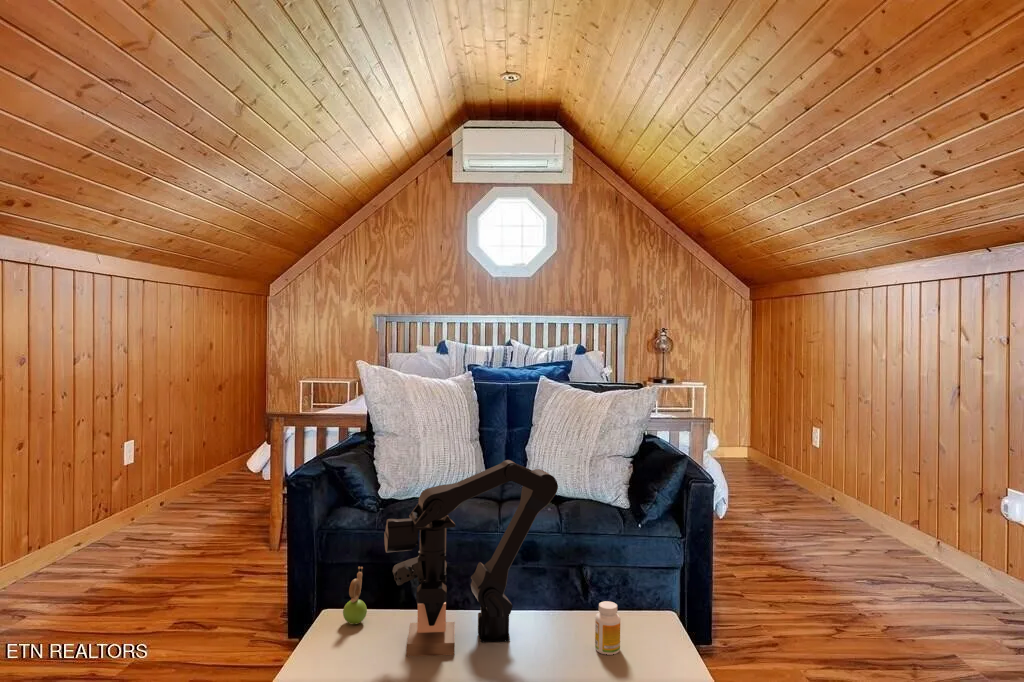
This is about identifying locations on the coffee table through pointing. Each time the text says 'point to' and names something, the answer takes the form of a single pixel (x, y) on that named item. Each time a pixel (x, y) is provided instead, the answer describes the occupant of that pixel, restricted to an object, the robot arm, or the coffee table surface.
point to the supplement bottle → (607, 629)
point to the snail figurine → (355, 602)
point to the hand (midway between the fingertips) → (432, 618)
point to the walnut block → (431, 641)
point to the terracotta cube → (423, 620)
